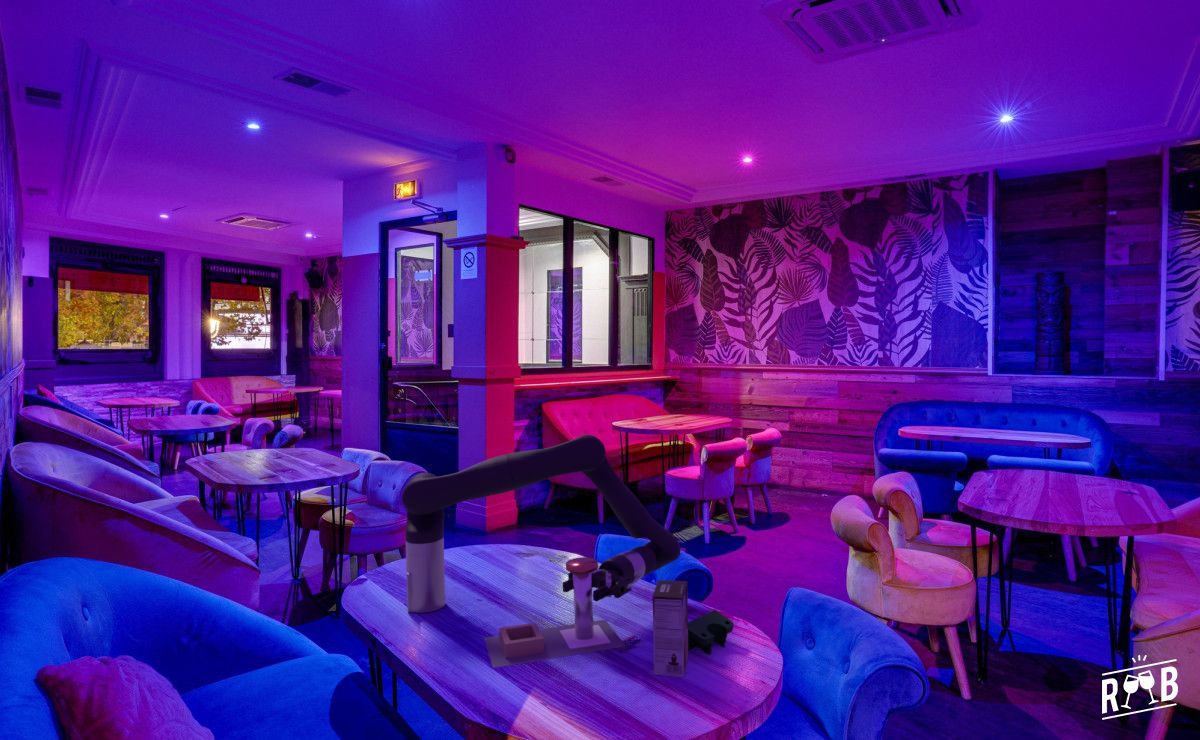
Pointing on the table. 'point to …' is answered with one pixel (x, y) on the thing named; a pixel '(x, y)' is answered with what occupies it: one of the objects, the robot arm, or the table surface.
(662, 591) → the coffee box
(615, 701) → the table surface
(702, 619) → the clamp
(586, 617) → the mushroom shaped post
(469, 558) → the table surface
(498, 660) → the board
